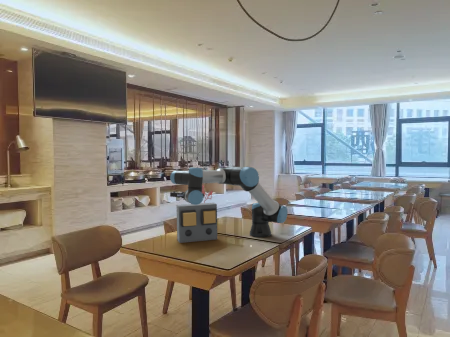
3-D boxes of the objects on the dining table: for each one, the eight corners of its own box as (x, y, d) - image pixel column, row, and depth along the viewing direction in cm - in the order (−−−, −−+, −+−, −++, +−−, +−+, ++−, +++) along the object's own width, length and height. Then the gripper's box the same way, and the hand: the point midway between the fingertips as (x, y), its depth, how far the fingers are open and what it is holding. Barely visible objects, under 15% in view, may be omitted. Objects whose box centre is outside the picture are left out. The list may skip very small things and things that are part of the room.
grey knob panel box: (177, 240, 236) (176, 204, 235) (214, 236, 244) (213, 202, 243) (180, 243, 226) (179, 206, 225) (218, 239, 234) (217, 204, 234)
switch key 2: (202, 222, 233) (202, 210, 232) (214, 221, 235) (214, 210, 235) (204, 223, 230) (203, 211, 229) (215, 222, 232) (215, 210, 232)
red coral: (216, 224, 287) (214, 182, 286) (207, 231, 262) (205, 184, 261) (198, 224, 291) (196, 182, 290) (187, 231, 266) (185, 185, 265)
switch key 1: (183, 225, 225) (182, 213, 225) (195, 224, 228) (195, 212, 227) (184, 226, 222) (183, 213, 222) (196, 225, 225) (196, 212, 224)
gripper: (168, 202, 190) (164, 199, 210) (212, 203, 197) (204, 201, 217) (169, 188, 190) (165, 187, 211) (213, 190, 197) (205, 189, 217)
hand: (185, 194), depth 214 cm, fingers open, 13 cm apart
